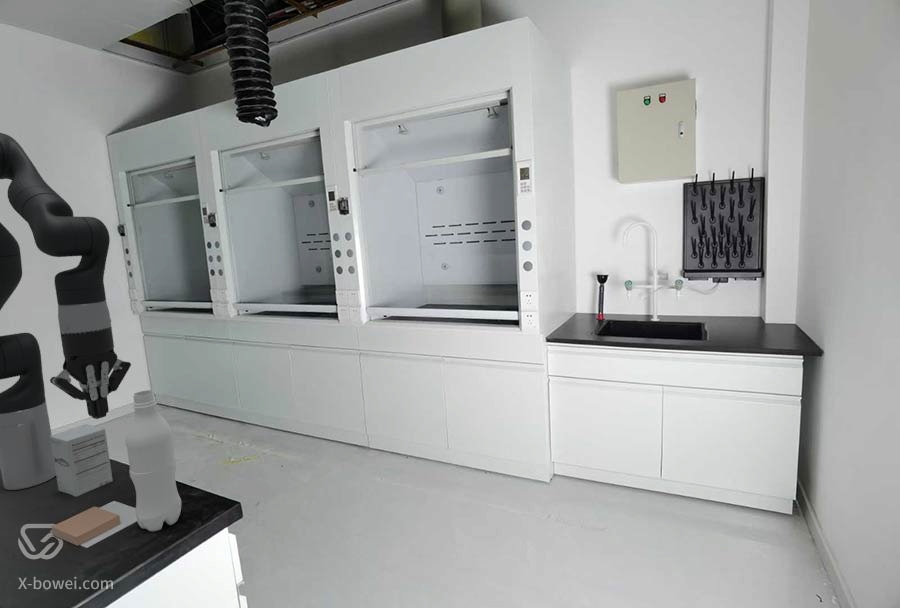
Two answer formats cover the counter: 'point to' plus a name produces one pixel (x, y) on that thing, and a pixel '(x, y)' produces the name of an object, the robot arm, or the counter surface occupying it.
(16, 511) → the counter surface
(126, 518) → the mat
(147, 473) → the water bottle
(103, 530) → the tile
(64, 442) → the supplement box
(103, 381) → the robot arm
